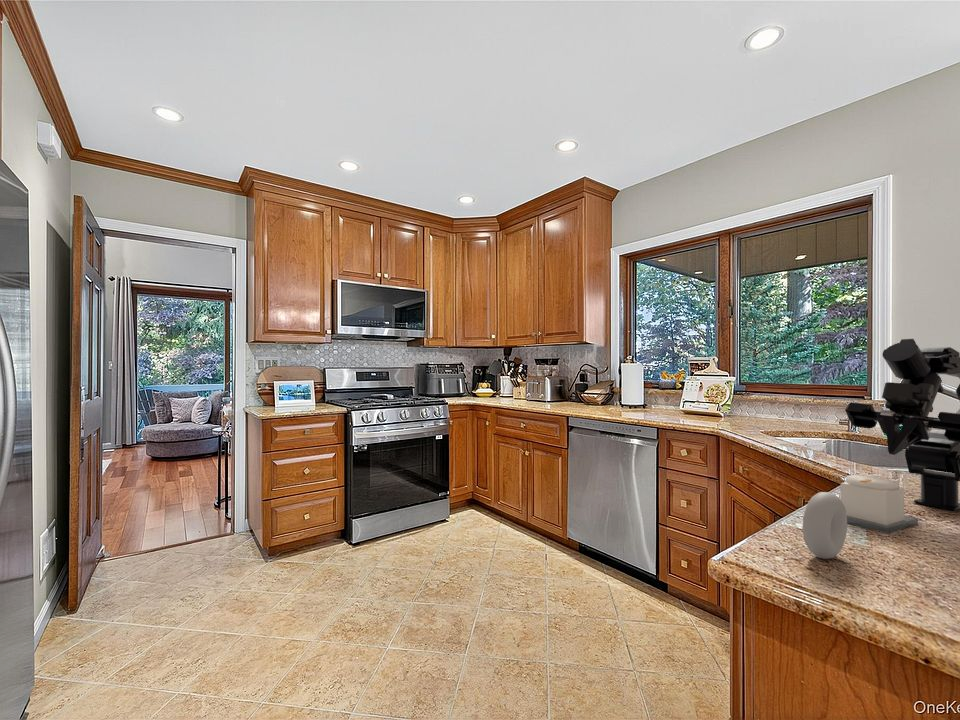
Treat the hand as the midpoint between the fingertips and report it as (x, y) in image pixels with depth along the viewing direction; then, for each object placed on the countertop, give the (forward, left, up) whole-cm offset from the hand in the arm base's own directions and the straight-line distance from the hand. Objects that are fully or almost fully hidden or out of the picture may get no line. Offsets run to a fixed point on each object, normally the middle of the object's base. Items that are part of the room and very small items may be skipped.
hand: (891, 453), depth 90 cm
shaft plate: (+7, -1, -13) cm, 14 cm away
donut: (+35, +5, -13) cm, 38 cm away
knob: (+8, 0, -12) cm, 14 cm away
